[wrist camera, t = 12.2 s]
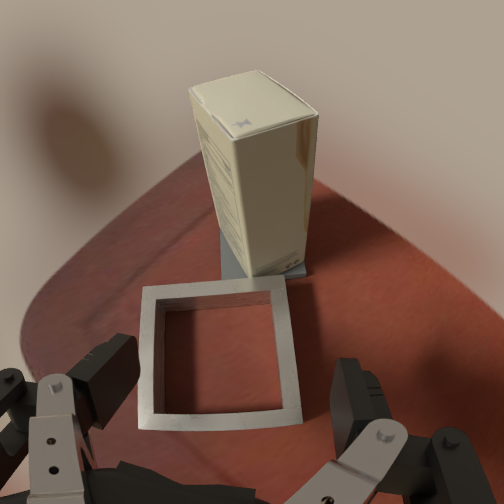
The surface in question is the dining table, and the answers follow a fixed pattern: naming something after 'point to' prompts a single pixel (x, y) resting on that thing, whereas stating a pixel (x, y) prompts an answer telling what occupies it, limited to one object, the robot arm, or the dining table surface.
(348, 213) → the dining table surface
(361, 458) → the robot arm
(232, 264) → the pad
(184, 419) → the grey square frame
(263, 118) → the skincare box
